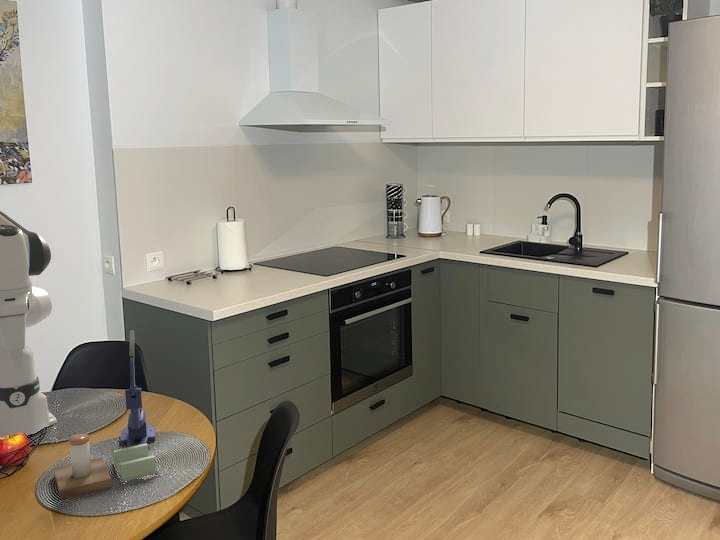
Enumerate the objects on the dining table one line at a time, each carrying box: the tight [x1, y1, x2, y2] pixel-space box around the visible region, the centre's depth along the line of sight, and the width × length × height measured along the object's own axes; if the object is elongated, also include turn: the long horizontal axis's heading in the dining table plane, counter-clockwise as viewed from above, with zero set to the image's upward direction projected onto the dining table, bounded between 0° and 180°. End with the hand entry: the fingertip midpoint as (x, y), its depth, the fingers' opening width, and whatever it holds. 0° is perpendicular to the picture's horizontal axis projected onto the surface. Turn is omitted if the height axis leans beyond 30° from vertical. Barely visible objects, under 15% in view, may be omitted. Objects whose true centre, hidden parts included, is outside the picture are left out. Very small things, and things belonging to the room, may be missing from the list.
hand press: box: [120, 330, 156, 447], centre depth 181 cm, size 19×9×28 cm, turn 17°
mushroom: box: [68, 433, 92, 478], centre depth 159 cm, size 4×4×9 cm
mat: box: [118, 468, 162, 488], centre depth 167 cm, size 14×9×1 cm, turn 30°
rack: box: [113, 443, 158, 482], centre depth 166 cm, size 10×8×4 cm
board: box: [53, 457, 113, 501], centre depth 161 cm, size 12×11×2 cm
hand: (18, 360), depth 152 cm, fingers open, 8 cm apart
